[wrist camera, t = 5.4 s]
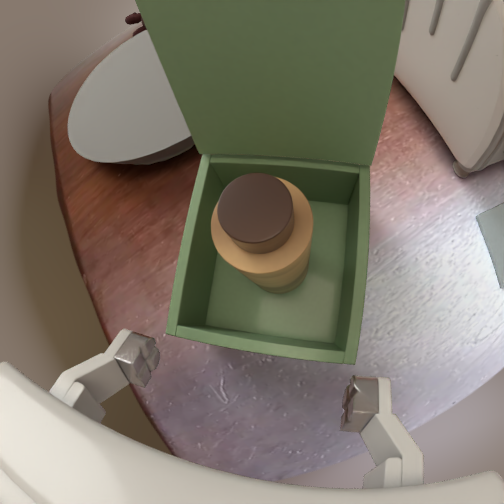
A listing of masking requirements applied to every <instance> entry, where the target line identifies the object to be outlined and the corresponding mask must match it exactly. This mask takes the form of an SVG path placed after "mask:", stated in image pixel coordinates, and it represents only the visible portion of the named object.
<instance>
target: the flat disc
mask: <svg viewBox="0 0 504 504" xmlns="http://www.w3.org/2000/svg"><path fill="white" fill-rule="evenodd" d="M68 136H69V140H70V142H71V144H72V146H73V148H74V149H75V150H76V151H77V153H78V154H80V155H81V156H83V157H84V158H86V159H89V160H92V161H97V162H105V163H107V162H110V163H119V164H134V165H140V164H144V165H150V164H153V163H156V162H159V161H165V160H167V159H170V158H172V157H174V156H177V155H180V154H181V153H182V152H185V151H187V150H189V149H190V148H191V147H192V146H193V145H194V144H195V143H194V141H193V138H192V136H191V133H190V131H189V129H188V126H187V124H186V122H185V119H184V117H183V115H182V112H181V110H180V108H179V105H178V103H177V100H176V98H175V96H174V93H173V91H172V89H171V86H170V84H169V81H168V79H167V77H166V74H165V72H164V69H163V67H162V65H161V62H160V60H159V57H158V55H157V53H156V50H155V48H154V45H153V43H152V40H151V38H150V36H149V33H148V31H147V30H145V31H143V32H141V33H139V34H137V35H135V36H134V37H132V38H131V39H129V40H128V41H126V42H125V43H123V44H122V45H120V46H119V47H118V48H116V49H115V50H114V51H113V52H111V53H110V54H109V55H108V56H107V57H106V58H105V59H104V60H103V61H102V62H101V63H100V64H99V65H98V66H97V67H96V68H95V69H94V70H93V71H92V73H91V74H90V75H89V76H88V78H87V79H86V80H85V82H84V83H83V85H82V87H81V88H80V90H79V91H78V93H77V95H76V97H75V99H74V102H73V104H72V107H71V110H70V114H69V119H68Z"/></svg>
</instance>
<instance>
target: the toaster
mask: <svg viewBox="0 0 504 504" xmlns="http://www.w3.org/2000/svg"><path fill="white" fill-rule="evenodd" d="M394 76H395V77H396V78H397V79H398V80H399V81H400V83H401V84H402V85H403V86H404V87H405V88H406V90H407V91H408V92H409V93H410V94H411V96H412V97H413V98H414V99H415V101H416V102H417V103H418V104H419V106H420V107H421V108H422V110H423V111H424V112H425V114H426V115H427V116H428V118H429V119H430V120H431V122H432V123H433V125H434V126H435V128H436V129H437V130H438V132H439V133H440V135H441V136H442V138H443V139H444V141H445V142H446V144H447V145H448V147H449V149H450V150H451V152H452V153H453V155H454V156H455V158H456V160H455V161H454V162H453V169H454V172H455V173H456V174H457V175H458V176H459V177H462V178H466V177H467V176H468V175H469V173H470V172H473V171H476V170H483V169H484V168H485V167H487V166H489V165H491V164H494V163H496V162H499V161H502V160H504V0H405V9H404V17H403V24H402V31H401V37H400V44H399V50H398V55H397V61H396V66H395V71H394Z"/></svg>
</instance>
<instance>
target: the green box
mask: <svg viewBox="0 0 504 504" xmlns="http://www.w3.org/2000/svg"><path fill="white" fill-rule="evenodd" d="M249 173H265V174H269V175H272V176H274V177H278V178H281V179H284V180H286V181H288V182H290V183H291V184H293V185H295V186H296V187H297V188H298V189H299V190H300V191H301V192H302V193H303V194H304V196H305V197H306V198H307V200H308V202H309V204H310V207H311V210H312V214H313V233H312V242H311V250H310V259H309V266H308V272H307V275H306V277H305V279H304V281H303V282H302V283H301V284H300V285H299V286H298V287H297V288H296V289H294V290H292V291H290V292H287V293H283V294H274V293H270V292H267V291H265V290H263V289H262V288H260V287H259V286H258V285H256V284H255V283H254V282H252V281H251V280H250V279H248V278H247V277H246V276H245V275H243V274H242V273H241V272H239V271H238V270H237V269H235V268H234V267H233V266H232V265H230V264H229V263H228V262H227V261H225V260H224V259H223V257H222V256H221V255H220V254H219V252H218V251H217V249H216V247H215V245H214V242H213V239H212V234H211V219H212V215H213V212H214V209H215V207H216V204H217V202H218V201H219V198H220V196H221V194H222V192H223V191H224V189H225V188H226V187H227V185H228V184H230V183H231V182H232V181H233V180H235V179H236V178H238V177H240V176H242V175H245V174H249ZM369 229H370V166H369V165H361V164H360V165H359V164H354V163H346V162H337V161H328V160H318V159H307V158H295V157H281V156H263V155H237V154H203V155H202V158H201V162H200V166H199V169H198V173H197V177H196V181H195V185H194V190H193V194H192V198H191V202H190V206H189V211H188V215H187V220H186V224H185V229H184V234H183V238H182V243H181V248H180V253H179V258H178V263H177V269H176V274H175V279H174V285H173V291H172V296H171V302H170V308H169V315H168V321H167V328H166V334H168V335H172V336H176V337H180V338H184V339H189V340H193V341H198V342H202V343H207V344H212V345H217V346H222V347H227V348H232V349H237V350H243V351H248V352H254V353H260V354H266V355H273V356H280V357H287V358H294V359H302V360H310V361H319V362H328V363H339V364H351V365H355V363H356V357H357V351H358V345H359V338H360V331H361V324H362V316H363V308H364V299H365V289H366V279H367V266H368V251H369Z"/></svg>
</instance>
